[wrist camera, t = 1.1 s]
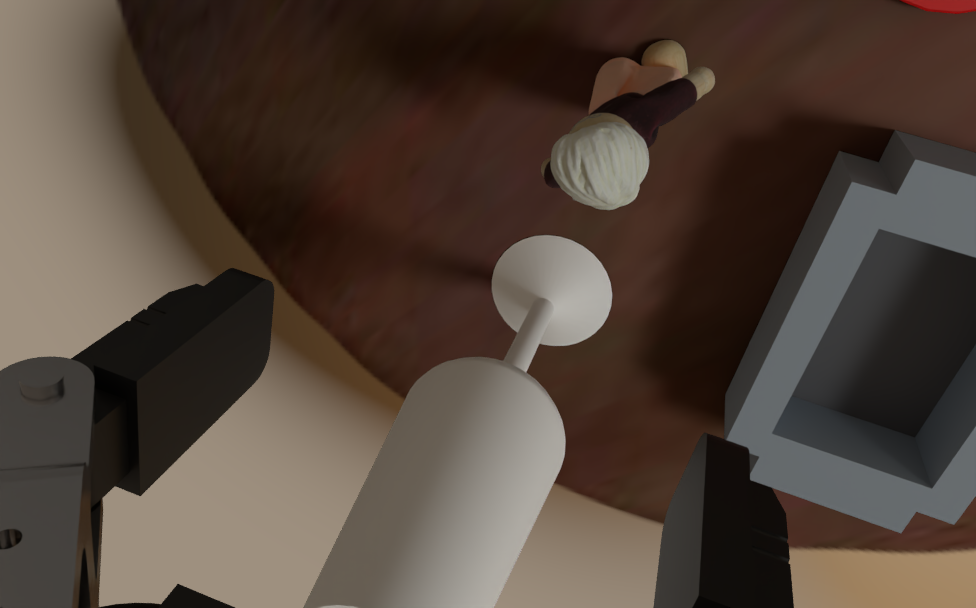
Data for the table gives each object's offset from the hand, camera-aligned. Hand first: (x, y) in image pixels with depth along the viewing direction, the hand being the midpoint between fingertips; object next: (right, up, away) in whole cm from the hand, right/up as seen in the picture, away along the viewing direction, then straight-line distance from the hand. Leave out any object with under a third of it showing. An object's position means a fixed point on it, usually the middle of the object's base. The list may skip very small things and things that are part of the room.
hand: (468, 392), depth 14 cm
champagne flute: (+4, +2, +28) cm, 28 cm away
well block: (+20, +1, +23) cm, 31 cm away
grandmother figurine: (+7, +12, +22) cm, 26 cm away
